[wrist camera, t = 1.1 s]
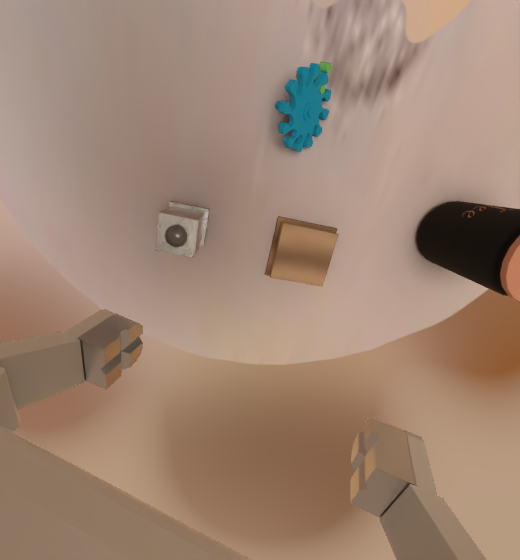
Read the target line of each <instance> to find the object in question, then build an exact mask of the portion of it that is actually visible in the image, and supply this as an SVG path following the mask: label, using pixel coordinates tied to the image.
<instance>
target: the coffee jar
mask: <svg viewBox="0 0 520 560" xmlns="http://www.w3.org/2000/svg"><path fill="white" fill-rule="evenodd" d="M418 245H419V249H420V252H421V253H422V254H423V256H424V257H425V258H426V259H427V260H429V261H431V262H432V263H435V264H437V265H439V266H441V267H443V268H445V269H448V270H450V271H452V272H454V273H456V274H458V275H461V276H463V277H465V278H467V279H469V280H472V281H474V282H476V283H478V284H480V285H482V286H485V287H487V288H489V289H491V290H493V291H495V292H498V293H500V294H502V295H506V296H510V297H512V298H513V299H515V300H517V301H518V302H520V209H514V208H506V207H498V206H490V205H483V204H475V203H467V202H459V201H456V202H449V203H446V204H444V205H442V206H440V207H437V208H436V209H435V210H433V211H432V212H431V213H430V214H429V215H428V216H427V217H426V218H425V220H424V221H423V222H422V224H421V226H420V229H419V232H418Z"/></svg>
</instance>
